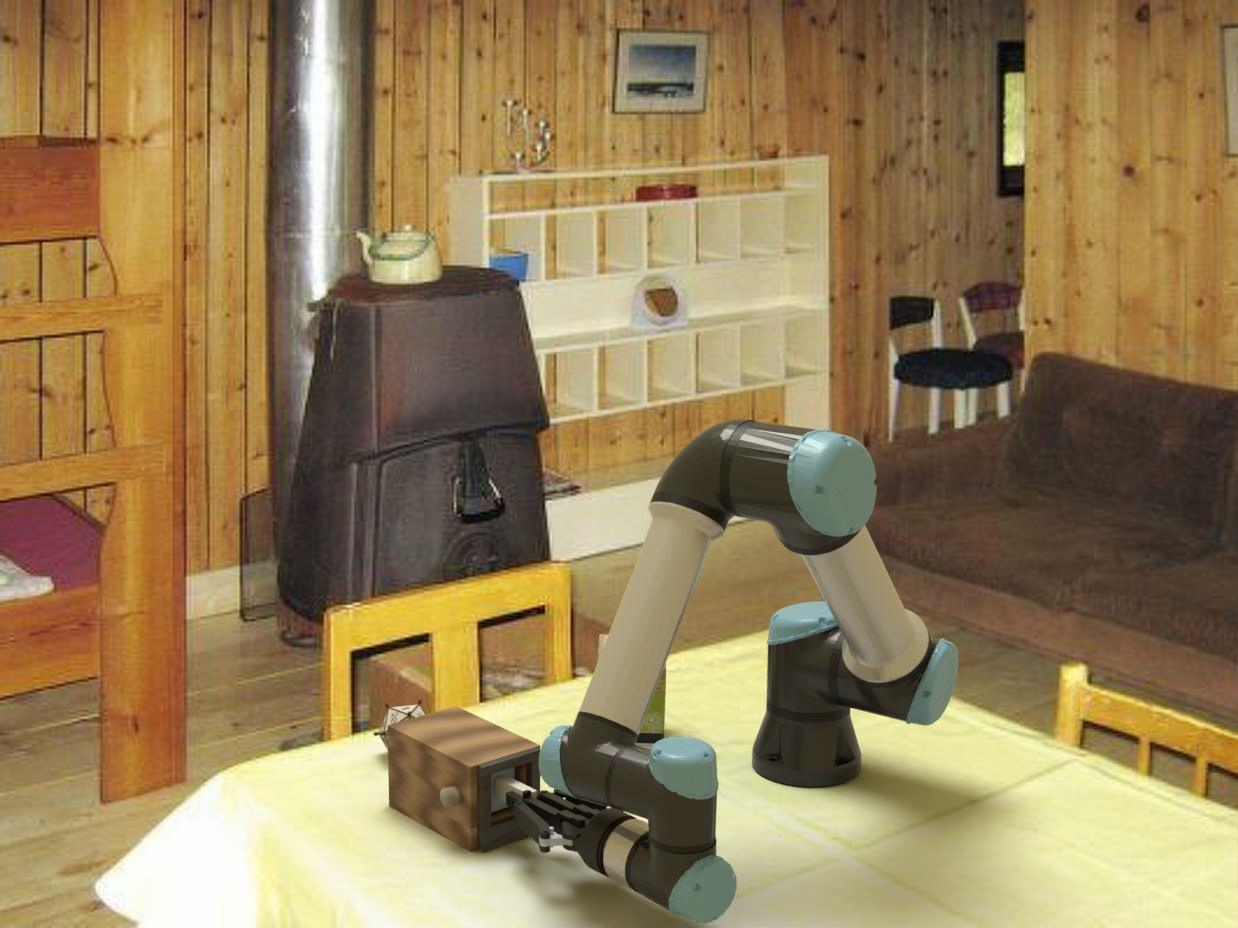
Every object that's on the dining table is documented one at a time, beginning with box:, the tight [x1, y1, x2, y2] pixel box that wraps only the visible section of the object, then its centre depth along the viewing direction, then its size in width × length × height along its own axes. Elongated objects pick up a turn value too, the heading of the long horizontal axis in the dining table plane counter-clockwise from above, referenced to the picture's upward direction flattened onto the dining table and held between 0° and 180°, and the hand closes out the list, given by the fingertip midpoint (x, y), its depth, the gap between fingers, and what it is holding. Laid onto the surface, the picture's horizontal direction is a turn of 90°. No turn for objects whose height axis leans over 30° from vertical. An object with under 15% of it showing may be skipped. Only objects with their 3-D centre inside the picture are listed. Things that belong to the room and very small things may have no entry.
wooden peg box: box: [387, 705, 541, 853], centre depth 228 cm, size 19×14×11 cm
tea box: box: [596, 633, 667, 749], centre depth 252 cm, size 15×10×15 cm
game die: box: [372, 698, 426, 751], centre depth 248 cm, size 9×8×10 cm
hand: (500, 786), depth 222 cm, fingers closed
